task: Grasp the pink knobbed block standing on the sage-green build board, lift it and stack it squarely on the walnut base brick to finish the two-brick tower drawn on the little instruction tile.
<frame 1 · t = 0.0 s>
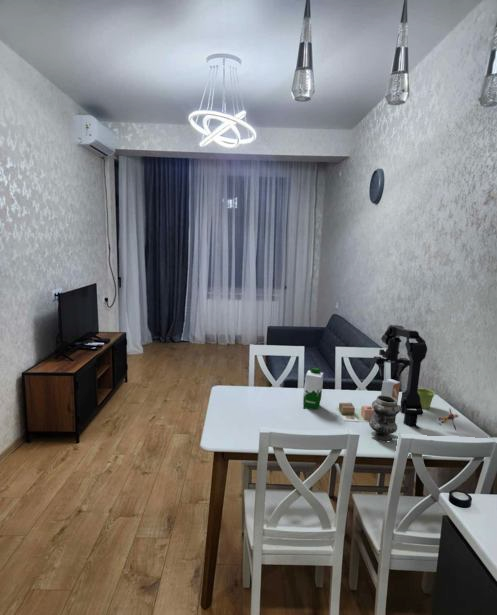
hand: (389, 376, 225), 15 cm above the table, fingers open, 9 cm apart
pink knobbed block: (367, 417, 203), point 1 cm above the table, touching build board
action figure: (444, 430, 198), on the table
build board: (355, 416, 206), on the table
plant pot: (423, 407, 225), on the table
walnut brick: (346, 412, 207), point 1 cm above the table, touching build board
ornate grey vase: (381, 437, 186), on the table
milk carton: (311, 407, 213), on the table
small box: (388, 405, 224), on the table
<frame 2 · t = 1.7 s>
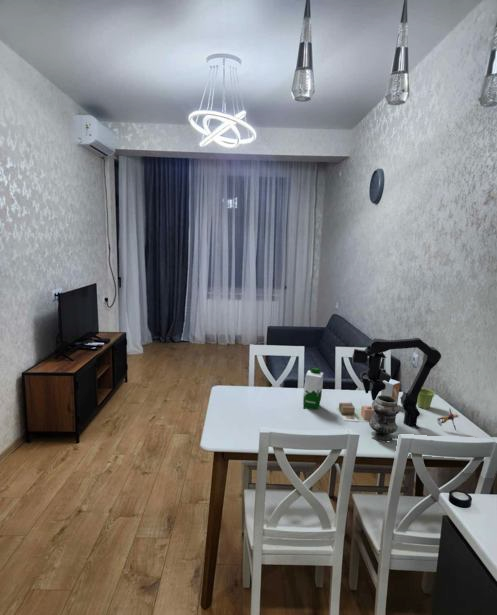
hand: (370, 396, 201), 12 cm above the table, fingers open, 9 cm apart
nothing on the table moved.
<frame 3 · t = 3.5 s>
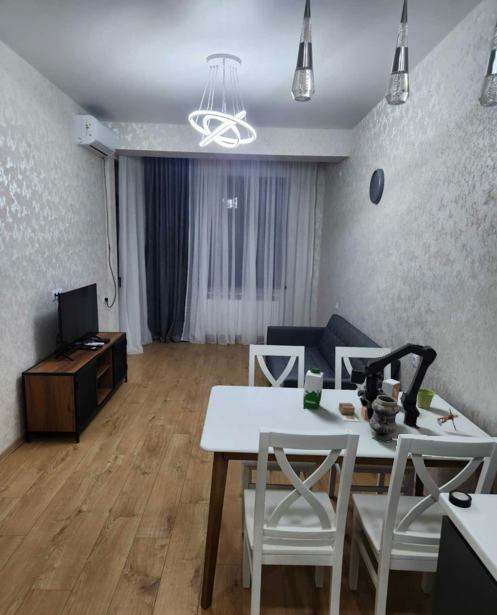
hand: (367, 416, 203), 2 cm above the table, fingers closed on pink knobbed block, 5 cm apart
pink knobbed block: (367, 417, 203), point 1 cm above the table, touching build board, gripper
everything else where it was.
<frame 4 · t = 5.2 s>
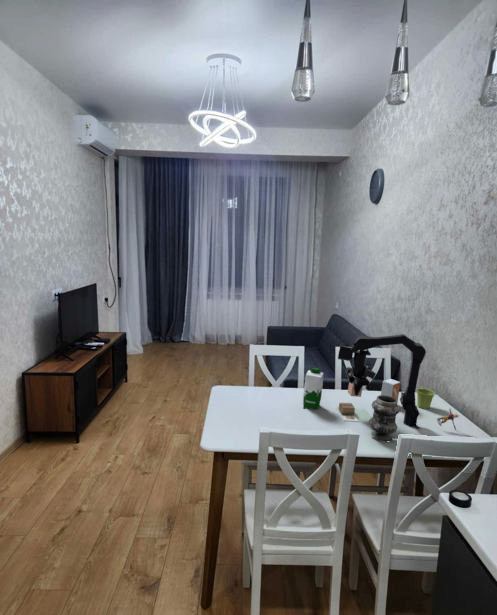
hand: (354, 393, 204), 12 cm above the table, fingers closed on pink knobbed block, 5 cm apart
pink knobbed block: (354, 394, 204), point 11 cm above the table, touching gripper
everything else where it was.
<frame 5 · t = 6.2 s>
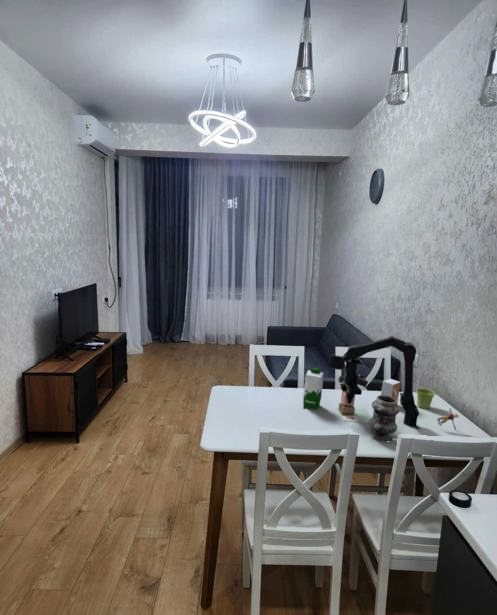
hand: (347, 401, 206), 7 cm above the table, fingers closed on pink knobbed block, 5 cm apart
pink knobbed block: (347, 403, 206), point 6 cm above the table, touching gripper
everything else where it was.
when the fingers open (6 cm above the table, at t = 7.0 s): pink knobbed block stays where it is, resting on walnut brick.
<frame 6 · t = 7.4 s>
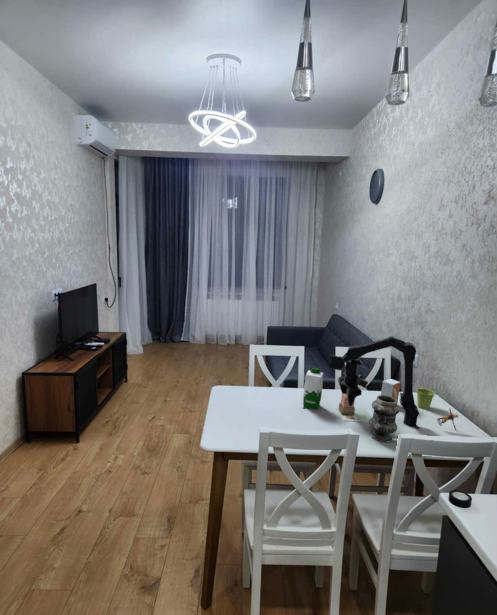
hand: (347, 402, 206), 6 cm above the table, fingers open, 9 cm apart
pink knobbed block: (347, 405, 206), point 5 cm above the table, touching walnut brick
walnut brick: (346, 412, 207), point 1 cm above the table, touching build board, pink knobbed block
everything else where it was.
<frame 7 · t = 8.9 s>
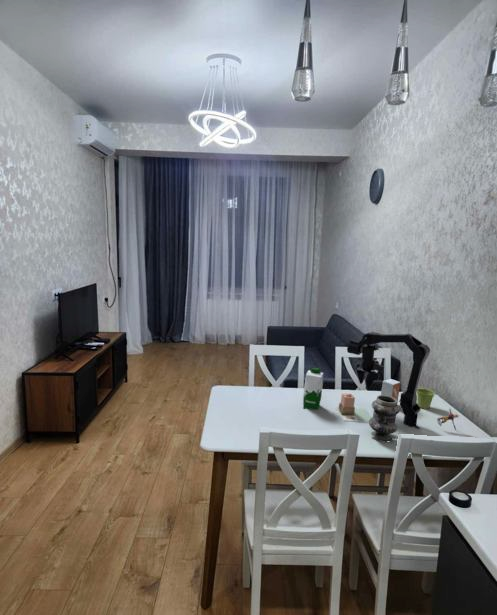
hand: (364, 386, 213), 12 cm above the table, fingers open, 9 cm apart
nothing on the table moved.
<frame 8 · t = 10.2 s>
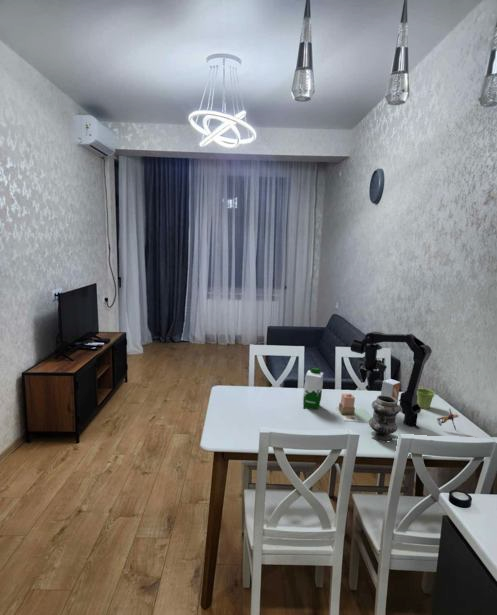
hand: (366, 385, 214), 13 cm above the table, fingers open, 9 cm apart
nothing on the table moved.
at the end: pink knobbed block 0.1 cm off-centre on the walnut brick, point 4.0 cm above the walnut brick's base; pink knobbed block tilted 0°; walnut brick tilted 0° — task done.
